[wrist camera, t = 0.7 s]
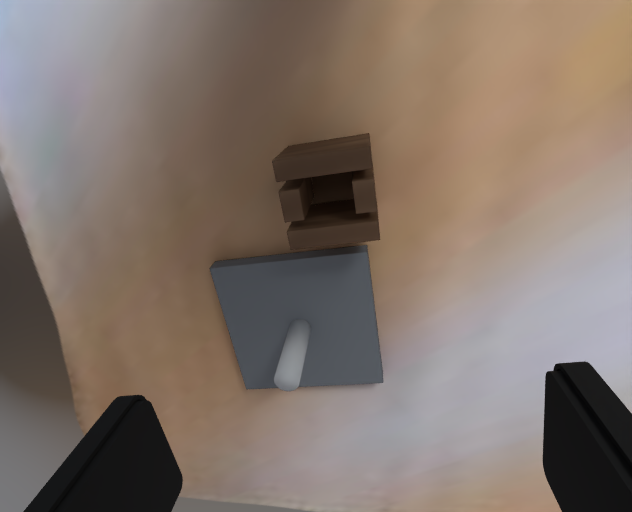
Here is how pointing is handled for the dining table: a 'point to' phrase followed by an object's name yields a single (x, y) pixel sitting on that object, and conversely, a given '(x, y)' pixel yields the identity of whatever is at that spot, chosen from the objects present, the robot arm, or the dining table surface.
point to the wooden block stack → (332, 217)
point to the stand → (301, 318)
